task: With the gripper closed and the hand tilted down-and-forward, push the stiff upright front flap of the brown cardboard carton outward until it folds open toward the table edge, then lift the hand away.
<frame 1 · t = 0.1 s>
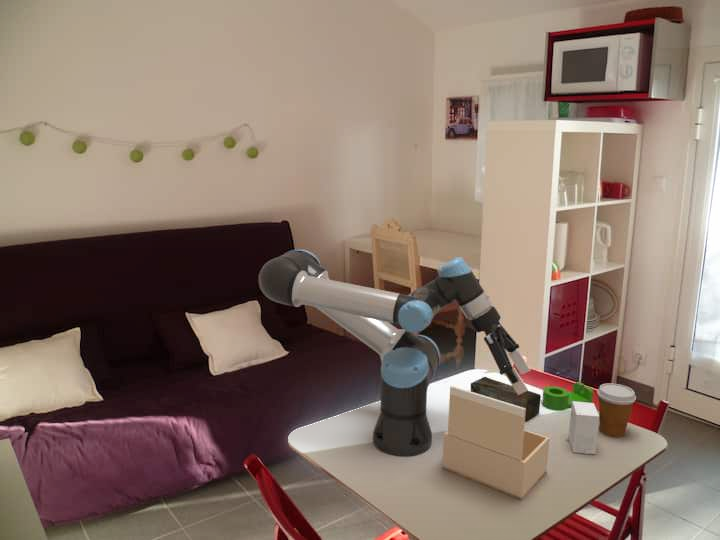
hand: (524, 382, 156), 15 cm above the table, tool tilted 35°, fingers open, 13 cm apart
carton: (494, 470, 143), on the table
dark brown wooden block: (503, 408, 176), on the table
carton flap: (484, 422, 134), point 15 cm above the table, hinge at 0.0°
tape dispenser: (564, 404, 179), on the table
small box: (581, 446, 155), on the table
disposable coffee cup: (611, 431, 162), on the table
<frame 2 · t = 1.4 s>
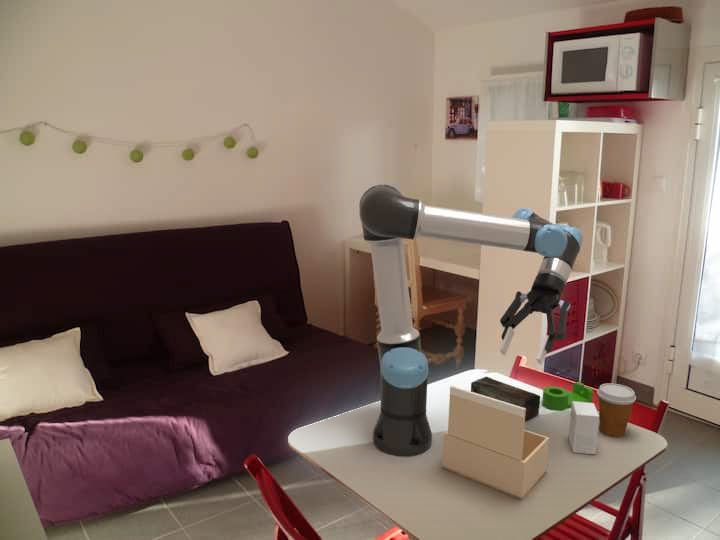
hand: (520, 356, 145), 25 cm above the table, tool tilted 45°, fingers open, 9 cm apart
nothing on the table moved.
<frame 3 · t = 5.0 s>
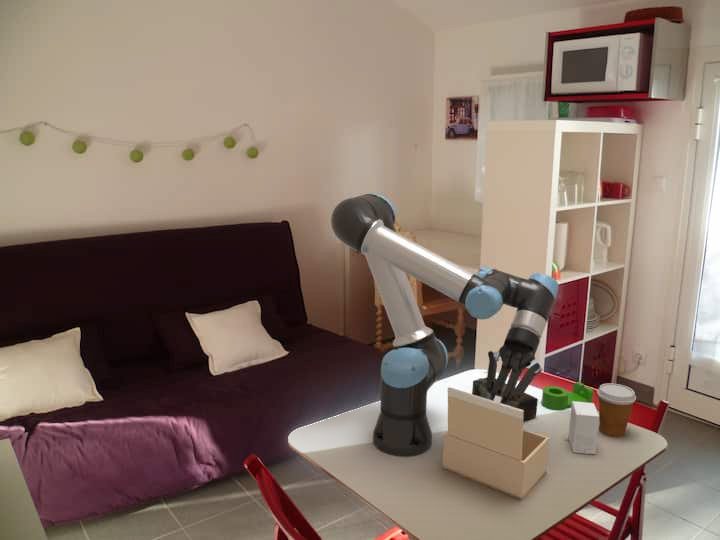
hand: (490, 424, 135), 14 cm above the table, tool tilted 45°, fingers closed
carton flap: (483, 422, 134), point 15 cm above the table, hinge at 5.3°, touching gripper
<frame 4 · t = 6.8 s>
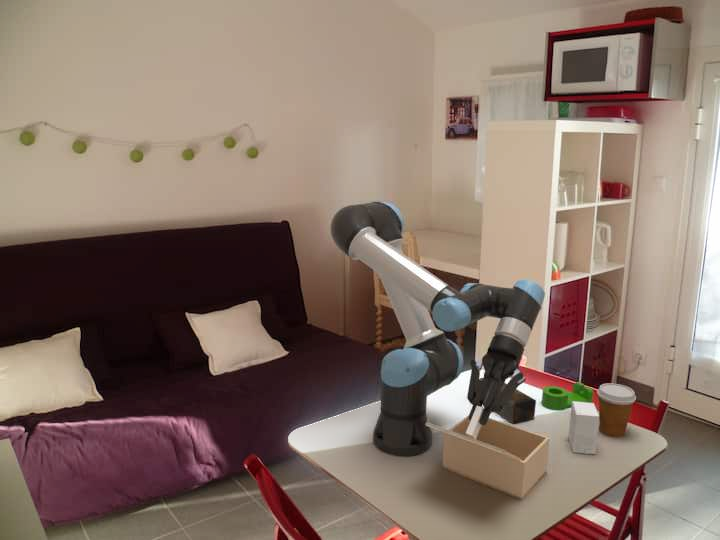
hand: (470, 436, 129), 15 cm above the table, tool tilted 45°, fingers closed
carton flap: (472, 441, 131), point 13 cm above the table, hinge at 56.6°, touching gripper
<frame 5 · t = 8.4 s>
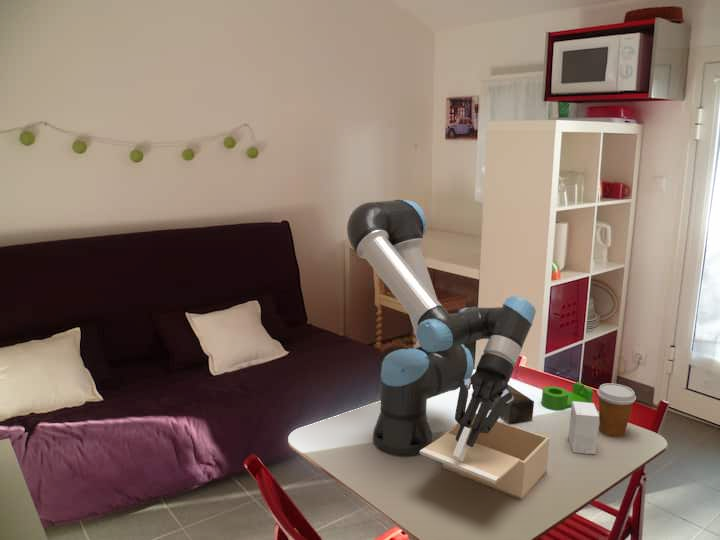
hand: (457, 458, 126), 12 cm above the table, tool tilted 45°, fingers closed
carton flap: (469, 456, 131), point 10 cm above the table, hinge at 86.6°
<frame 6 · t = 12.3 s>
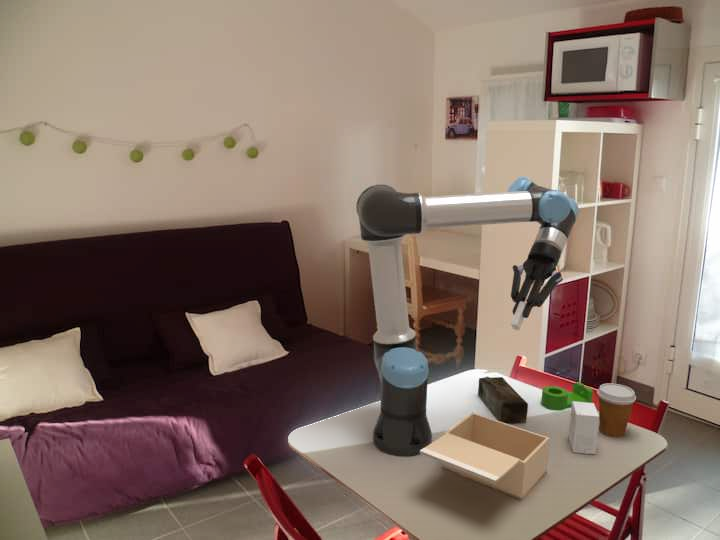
hand: (515, 326, 146), 32 cm above the table, tool tilted 45°, fingers closed
at the end: carton flap at +87° (first picture: +0°) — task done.
